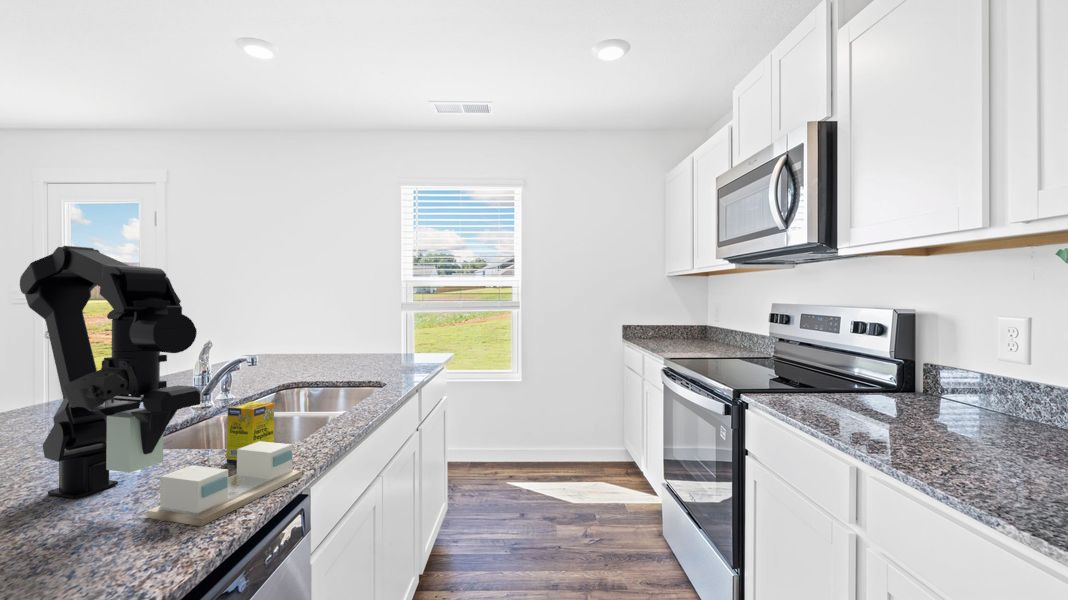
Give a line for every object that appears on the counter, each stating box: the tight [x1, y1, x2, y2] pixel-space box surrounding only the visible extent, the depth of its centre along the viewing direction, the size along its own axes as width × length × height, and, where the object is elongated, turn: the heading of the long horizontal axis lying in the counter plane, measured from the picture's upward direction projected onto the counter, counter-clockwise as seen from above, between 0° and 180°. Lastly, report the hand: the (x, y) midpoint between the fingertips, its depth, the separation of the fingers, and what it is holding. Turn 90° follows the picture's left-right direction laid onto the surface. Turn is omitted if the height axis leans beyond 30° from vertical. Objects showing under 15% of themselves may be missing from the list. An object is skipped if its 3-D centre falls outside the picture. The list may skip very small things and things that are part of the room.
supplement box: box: [226, 401, 275, 465], centre depth 97 cm, size 6×6×11 cm
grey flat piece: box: [158, 468, 294, 516], centre depth 80 cm, size 7×19×1 cm, turn 166°
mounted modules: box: [159, 441, 293, 513], centre depth 80 cm, size 7×18×4 cm, turn 166°
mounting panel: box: [146, 469, 303, 527], centre depth 80 cm, size 10×20×1 cm, turn 166°
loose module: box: [106, 407, 164, 474], centre depth 75 cm, size 4×5×8 cm
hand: (135, 452), depth 75 cm, fingers closed on loose module, 4 cm apart
